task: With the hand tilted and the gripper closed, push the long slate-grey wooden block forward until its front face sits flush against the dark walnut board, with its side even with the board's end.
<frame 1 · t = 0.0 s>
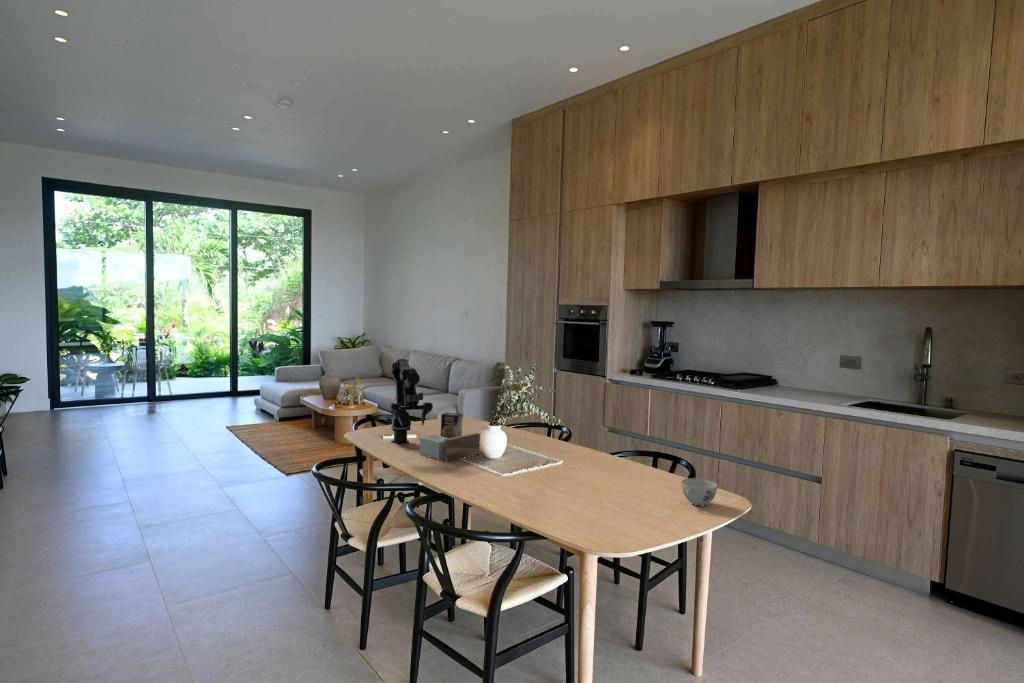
hand: (412, 425, 252), 15 cm above the table, tool tilted 35°, fingers open, 9 cm apart
walnut board: (462, 457, 256), on the table
grey block: (436, 455, 260), on the table
teacup: (696, 505, 205), on the table
coffee box: (450, 446, 278), on the table
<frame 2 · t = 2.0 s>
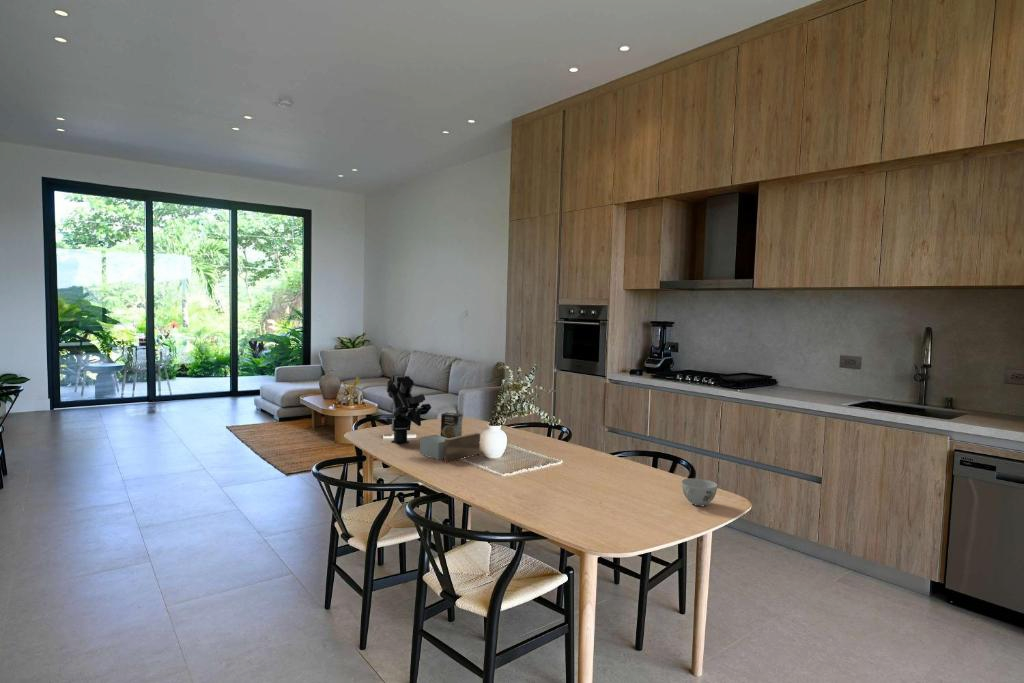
hand: (419, 425, 265), 12 cm above the table, tool tilted 45°, fingers closed
nothing on the table moved.
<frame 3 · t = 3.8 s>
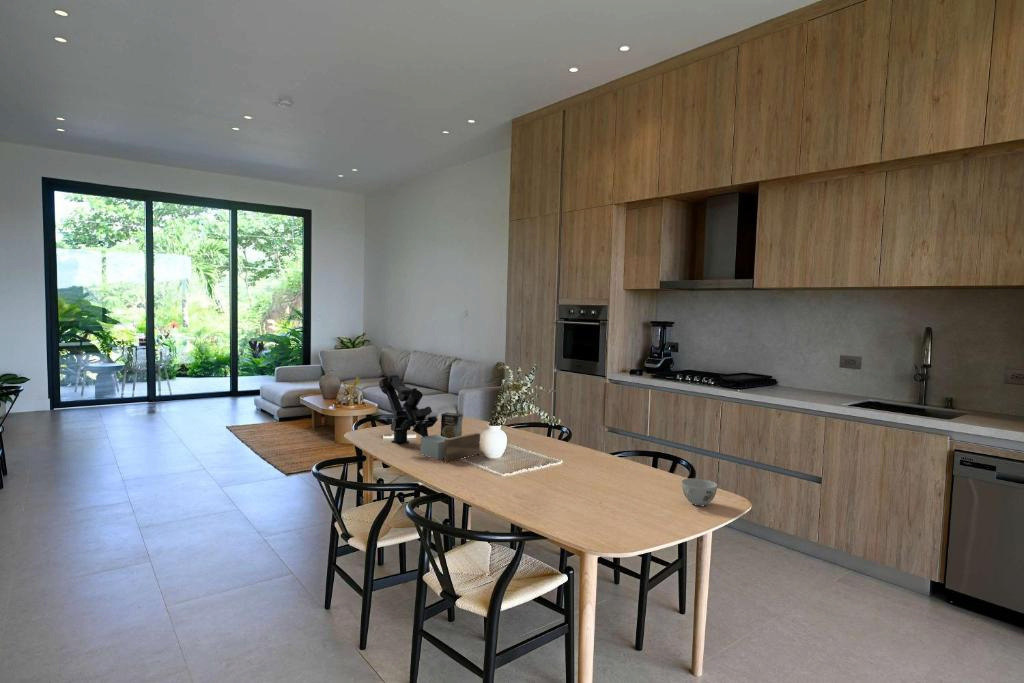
hand: (427, 438, 263), 7 cm above the table, tool tilted 45°, fingers closed
grey block: (436, 455, 259), on the table, touching gripper
everything else where it was.
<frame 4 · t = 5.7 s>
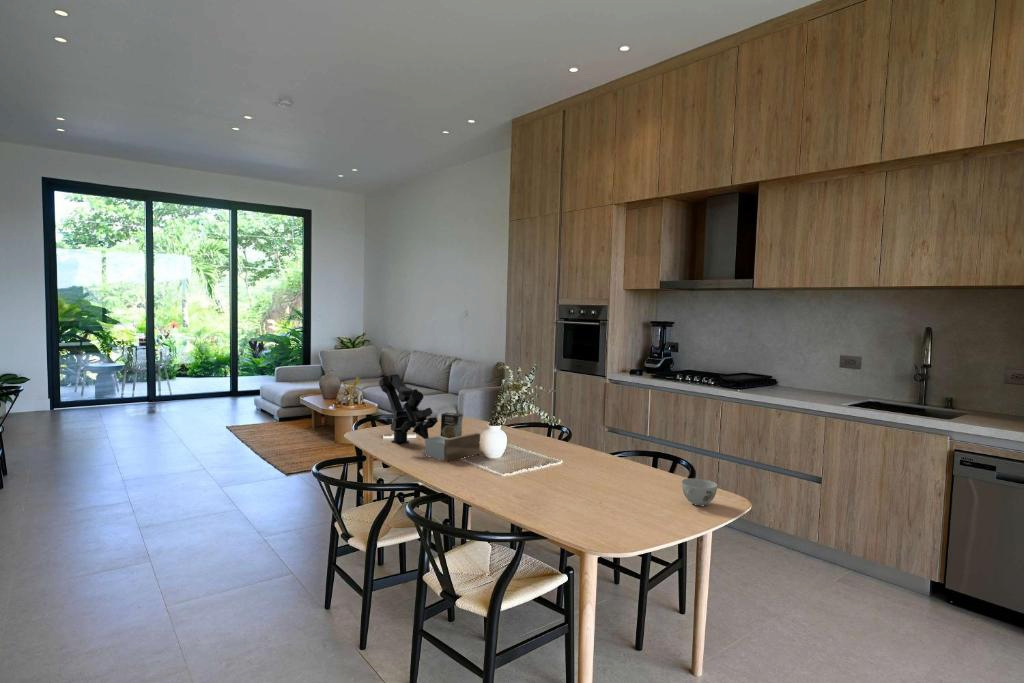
hand: (427, 439, 264), 6 cm above the table, tool tilted 45°, fingers closed
grey block: (441, 457, 257), on the table
everything else where it was.
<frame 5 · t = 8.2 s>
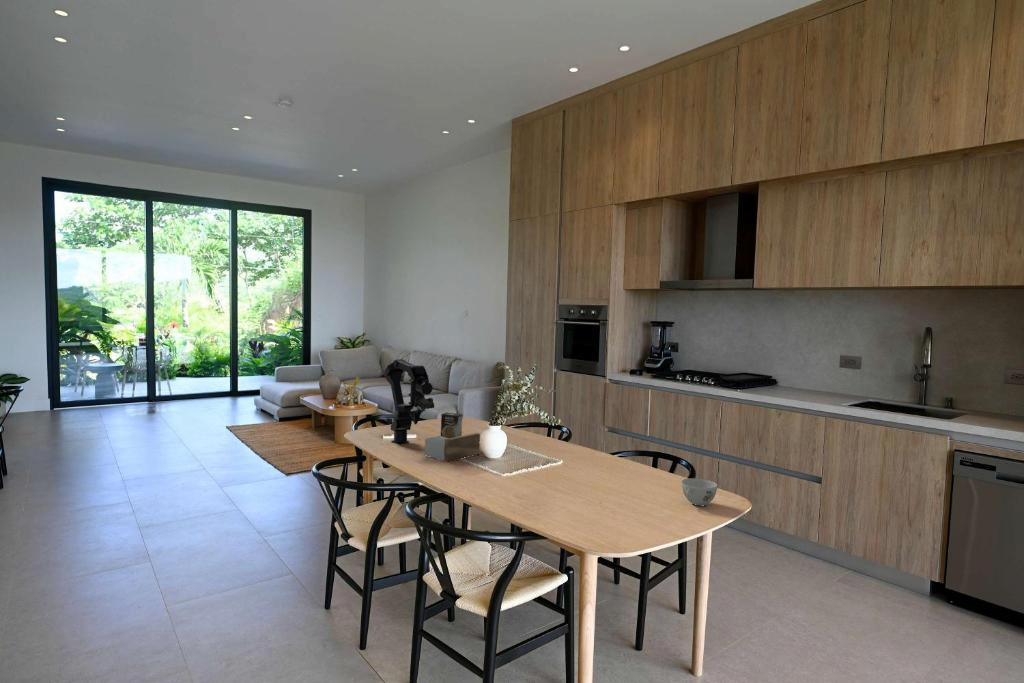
hand: (415, 424, 269), 12 cm above the table, tool pointing down, fingers closed
nothing on the table moved.
at the end: grey block 0.6 cm from the target spot on the table beside the walnut board, on the table; grey block tilted 0°; grey block moved 3.5 cm from its start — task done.
